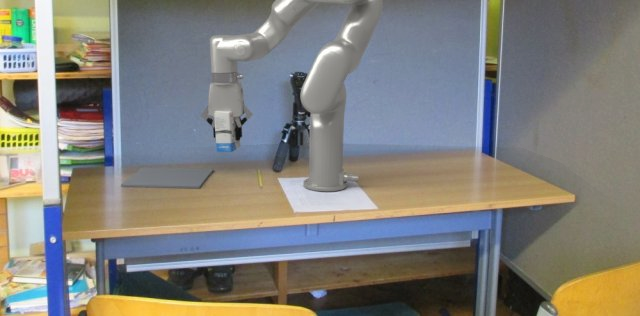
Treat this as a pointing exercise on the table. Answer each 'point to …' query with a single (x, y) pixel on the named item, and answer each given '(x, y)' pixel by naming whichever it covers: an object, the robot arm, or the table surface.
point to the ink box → (225, 132)
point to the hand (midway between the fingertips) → (228, 139)
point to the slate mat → (168, 178)
